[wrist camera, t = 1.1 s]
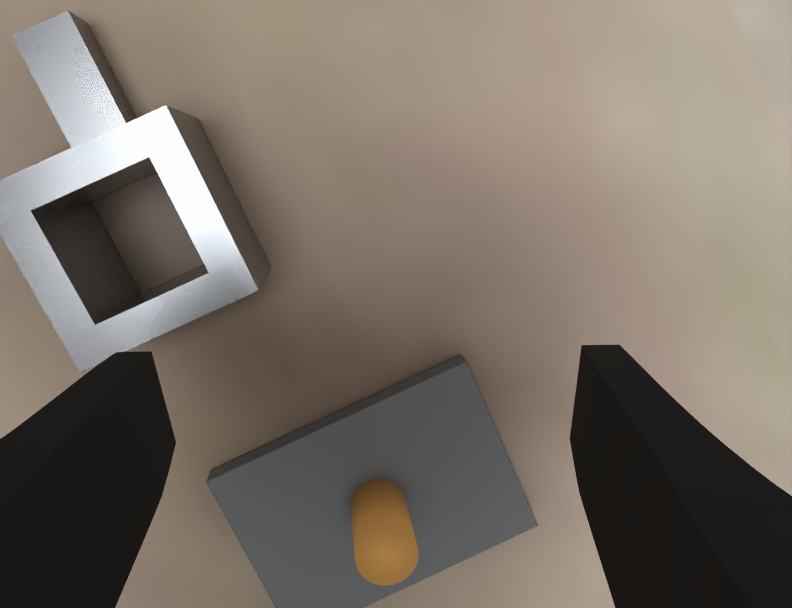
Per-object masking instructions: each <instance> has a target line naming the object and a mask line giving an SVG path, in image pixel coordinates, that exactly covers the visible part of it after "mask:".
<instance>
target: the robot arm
mask: <svg viewBox="0 0 792 608" xmlns="http://www.w3.org/2000/svg"><path fill="white" fill-rule="evenodd" d="M570 442H571V448H572V454H573V460H574V466H575V471H576V477H577V482H578V487H579V492H580V496H581V499H582V503H583V506H584V509H585V512H586V516H587V519H588V522H589V525H590V529H591V532H592V535H593V538H594V541H595V545H596V548H597V551H598V554H599V557H600V560H601V563H602V567H603V570H604V573H605V576H606V579H607V582H608V586H609V589H610V592H611V595H612V598H613V601H614V605H615V608H792V496H791V495H789V494H788V493H786V492H785V491H784V490H782V489H781V488H779V487H778V486H777V485H775V484H774V483H772V482H771V481H770V480H768V479H767V478H766V477H764V476H763V475H762V474H760V473H759V472H758V471H757V470H755V469H754V468H753V467H751V466H750V465H749V464H748V463H747V462H745V461H744V460H743V459H742V458H740V457H739V456H738V455H737V454H736V453H734V452H733V451H732V450H731V449H729V448H728V447H727V446H726V445H725V444H723V443H722V442H721V441H720V440H719V439H717V438H716V437H715V436H714V435H713V434H712V433H711V432H709V431H708V430H707V429H706V428H705V427H704V426H703V425H702V424H700V423H699V422H698V421H697V420H696V419H695V418H694V417H693V416H692V415H691V414H690V413H688V412H687V411H686V410H685V409H684V408H683V407H682V406H681V405H680V404H679V403H678V402H677V401H676V400H675V399H674V398H672V397H671V396H670V395H669V394H668V393H667V392H666V391H665V390H664V389H663V388H662V387H661V386H660V385H659V384H658V383H657V382H656V381H655V380H654V379H653V378H652V377H651V376H650V375H649V374H648V373H647V372H646V371H645V370H644V369H643V368H642V367H641V366H640V365H639V364H638V363H637V362H636V361H635V360H634V359H633V358H632V357H631V356H630V355H629V354H628V353H627V352H626V351H625V350H624V349H623V348H622V347H621V346H620V345H582V347H581V355H580V363H579V371H578V379H577V387H576V395H575V403H574V410H573V418H572V426H571V434H570ZM175 444H176V441H175V437H174V433H173V430H172V426H171V422H170V419H169V415H168V411H167V407H166V404H165V400H164V396H163V393H162V389H161V385H160V382H159V378H158V374H157V370H156V367H155V363H154V359H153V356H152V352H116V353H114V354H113V355H111V356H110V357H108V358H107V359H105V360H104V361H103V362H101V363H100V364H99V365H97V366H96V367H95V368H93V369H92V370H91V371H89V372H88V373H87V374H85V375H84V376H83V377H82V378H80V379H79V380H78V381H76V382H75V383H74V384H73V385H71V386H70V387H69V388H67V389H66V390H65V391H64V392H62V393H61V394H60V395H59V396H57V397H56V398H55V399H53V400H52V401H51V402H49V403H48V404H47V405H45V406H44V407H43V408H42V409H40V410H39V411H38V412H36V413H35V414H34V415H32V416H31V417H30V418H29V419H27V420H26V421H25V422H23V423H22V424H21V425H19V426H18V427H17V428H15V429H14V430H13V431H11V432H10V433H8V434H7V435H6V436H4V437H3V438H1V439H0V608H115V607H116V604H117V602H118V599H119V597H120V595H121V592H122V590H123V588H124V585H125V583H126V581H127V578H128V576H129V573H130V571H131V569H132V566H133V564H134V562H135V559H136V557H137V555H138V552H139V550H140V548H141V545H142V543H143V540H144V538H145V536H146V533H147V531H148V528H149V526H150V524H151V521H152V519H153V516H154V514H155V511H156V509H157V507H158V504H159V501H160V499H161V496H162V493H163V490H164V486H165V483H166V479H167V476H168V472H169V468H170V464H171V460H172V456H173V452H174V448H175Z"/></svg>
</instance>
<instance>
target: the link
mask: <svg viewBox="0 0 792 608" xmlns="http://www.w3.org/2000/svg"><path fill="white" fill-rule="evenodd" d="M12 38H13V40H14V42H15V44H16V45H17V47H18V49H19V51H20V53H21V55H22V57H23V58H24V60H25V62H26V64H27V66H28V68H29V70H30V72H31V73H32V75H33V77H34V79H35V81H36V83H37V85H38V86H39V88H40V90H41V92H42V94H43V96H44V98H45V99H46V101H47V103H48V105H49V107H50V109H51V111H52V112H53V114H54V116H55V118H56V120H57V122H58V124H59V125H60V127H61V129H62V131H63V133H64V135H65V137H66V138H67V140H68V142H69V144H70V146H71V148H70V149H68V150H66V151H63V152H61V153H59V154H57V155H55V156H52V157H50V158H48V159H46V160H44V161H41V162H39V163H37V164H35V165H32V166H30V167H28V168H26V169H24V170H21V171H19V172H17V173H15V174H12V175H10V176H8V177H6V178H4V179H1V180H0V235H1V237H2V239H3V240H4V242H5V244H6V245H7V247H8V249H9V251H10V252H11V254H12V256H13V258H14V259H15V261H16V263H17V265H18V266H19V268H20V270H21V271H22V273H23V275H24V277H25V278H26V280H27V282H28V284H29V285H30V287H31V289H32V291H33V292H34V294H35V296H36V297H37V299H38V301H39V303H40V304H41V306H42V308H43V310H44V311H45V313H46V315H47V316H48V318H49V320H50V322H51V323H52V325H53V327H54V329H55V330H56V332H57V334H58V336H59V337H60V339H61V341H62V342H63V344H64V346H65V348H66V349H67V351H68V353H69V355H70V356H71V358H72V360H73V362H74V363H75V365H76V367H77V368H78V370H79V372H82V371H84V370H86V369H88V368H90V367H92V366H95V365H97V364H99V363H101V362H103V361H104V360H105V359H107V358H108V357H110V356H111V355H113V354H114V353H116V352H125V351H127V350H130V349H132V348H134V347H136V346H138V345H141V344H143V343H145V342H147V341H149V340H151V339H154V338H156V337H158V336H160V335H162V334H165V333H167V332H169V331H171V330H173V329H175V328H178V327H180V326H182V325H184V324H186V323H189V322H191V321H193V320H195V319H197V318H199V317H202V316H204V315H206V314H208V313H210V312H213V311H215V310H217V309H219V308H221V307H223V306H226V305H228V304H230V303H232V302H234V301H237V300H239V299H241V298H243V297H245V296H247V295H250V294H252V293H254V292H256V291H258V290H259V289H260V287H261V285H262V283H263V281H264V279H265V276H266V274H267V272H268V270H269V268H270V264H269V262H268V260H267V258H266V256H265V254H264V252H263V250H262V248H261V246H260V244H259V242H258V240H257V237H256V235H255V233H254V231H253V229H252V227H251V225H250V223H249V221H248V219H247V217H246V215H245V213H244V211H243V209H242V207H241V205H240V203H239V201H238V199H237V197H236V195H235V193H234V191H233V189H232V187H231V185H230V183H229V181H228V179H227V176H226V174H225V172H224V170H223V168H222V166H221V164H220V162H219V160H218V158H217V156H216V154H215V152H214V150H213V148H212V146H211V144H210V142H209V140H208V138H207V136H206V134H205V132H204V130H203V128H202V126H201V124H200V122H199V120H198V119H197V118H195V117H193V116H190V115H188V114H185V113H183V112H181V111H178V110H176V109H174V108H171V107H169V106H167V105H165V106H163V107H161V108H159V109H157V110H154V111H152V112H150V113H148V114H146V115H143V116H141V117H139V118H136V117H135V115H134V113H133V111H132V109H131V107H130V105H129V103H128V101H127V99H126V97H125V95H124V93H123V91H122V89H121V87H120V85H119V83H118V81H117V79H116V77H115V75H114V74H113V72H112V70H111V68H110V66H109V64H108V62H107V60H106V58H105V56H104V54H103V52H102V50H101V48H100V46H99V44H98V42H97V40H96V38H95V36H94V34H93V32H92V31H91V29H90V27H89V25H88V23H87V22H85V21H84V20H82V19H81V18H79V17H77V16H76V15H74V14H73V13H71V12H69V11H66V12H63V13H61V14H59V15H57V16H54V17H52V18H50V19H48V20H45V21H43V22H41V23H39V24H37V25H34V26H32V27H30V28H28V29H25V30H23V31H21V32H19V33H16V34H14V35H12ZM156 172H157V173H158V175H159V177H160V179H161V181H162V183H163V185H164V187H165V189H166V191H167V192H168V194H169V196H170V198H171V200H172V202H173V204H174V206H175V208H176V210H177V212H178V214H179V216H180V218H181V220H182V222H183V224H184V226H185V228H186V229H187V231H188V233H189V235H190V237H191V239H192V241H193V243H194V245H195V247H196V249H197V251H198V253H199V255H200V257H201V259H202V261H203V263H204V265H202V266H200V267H197V268H195V269H193V270H191V271H189V272H186V273H184V274H182V275H180V276H178V277H176V278H173V279H171V280H169V281H167V282H165V283H162V284H160V285H158V286H156V287H154V288H151V289H149V290H147V291H145V292H143V293H140V292H139V290H138V288H137V286H136V284H135V283H134V281H133V279H132V277H131V275H130V273H129V271H128V270H127V268H126V266H125V264H124V262H123V260H122V259H121V257H120V255H119V253H118V251H117V249H116V247H115V246H114V244H113V242H112V240H111V238H110V236H109V234H108V233H107V231H106V229H105V227H104V225H103V223H102V222H101V220H100V218H99V216H98V214H97V212H96V210H95V209H94V207H93V205H92V203H91V202H92V201H94V200H97V199H99V198H101V197H103V196H106V195H108V194H110V193H112V192H114V191H117V190H119V189H121V188H123V187H125V186H128V185H130V184H132V183H134V182H136V181H139V180H141V179H143V178H145V177H147V176H150V175H152V174H154V173H156Z"/></svg>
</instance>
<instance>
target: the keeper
mask: <svg viewBox="0 0 792 608" xmlns="http://www.w3.org/2000/svg"><path fill="white" fill-rule="evenodd" d="M207 484H208V486H209V488H210V489H211V491H212V493H213V495H214V497H215V498H216V500H217V502H218V504H219V506H220V508H221V509H222V511H223V513H224V515H225V517H226V518H227V520H228V522H229V524H230V526H231V527H232V529H233V531H234V533H235V535H236V536H237V538H238V540H239V542H240V544H241V545H242V547H243V549H244V551H245V553H246V554H247V556H248V558H249V560H250V562H251V563H252V565H253V567H254V569H255V571H256V572H257V574H258V576H259V578H260V580H261V582H262V583H263V585H264V587H265V589H266V591H267V592H268V594H269V596H270V598H271V600H272V601H273V603H274V605H275V607H276V608H363V607H365V606H367V605H369V604H371V603H374V602H376V601H378V600H380V599H382V598H384V597H386V596H389V595H391V594H393V593H395V592H397V591H399V590H401V589H403V588H406V587H408V586H410V585H412V584H414V583H416V582H418V581H420V580H423V579H425V578H427V577H429V576H431V575H433V574H435V573H438V572H440V571H442V570H444V569H446V568H448V567H450V566H452V565H455V564H457V563H459V562H461V561H463V560H465V559H467V558H469V557H472V556H474V555H476V554H478V553H480V552H482V551H484V550H487V549H489V548H491V547H493V546H495V545H497V544H499V543H501V542H504V541H506V540H508V539H510V538H512V537H514V536H516V535H518V534H521V533H523V532H525V531H527V530H529V529H531V528H533V527H535V526H538V524H537V521H536V519H535V517H534V515H533V512H532V510H531V508H530V506H529V503H528V501H527V499H526V496H525V494H524V492H523V490H522V487H521V485H520V483H519V481H518V478H517V476H516V474H515V471H514V469H513V467H512V465H511V462H510V460H509V458H508V455H507V453H506V451H505V449H504V446H503V444H502V442H501V440H500V437H499V435H498V433H497V430H496V428H495V426H494V424H493V421H492V419H491V417H490V415H489V412H488V410H487V408H486V405H485V403H484V401H483V399H482V396H481V394H480V392H479V390H478V387H477V385H476V383H475V380H474V378H473V376H472V374H471V371H470V369H469V367H468V365H467V362H466V361H465V359H464V358H463V357H462V355H461V354H460V355H458V356H456V357H454V358H452V359H450V360H447V361H445V362H443V363H441V364H439V365H437V366H434V367H432V368H430V369H428V370H426V371H424V372H421V373H419V374H417V375H415V376H413V377H411V378H409V379H406V380H404V381H402V382H400V383H398V384H396V385H393V386H391V387H389V388H387V389H385V390H383V391H380V392H378V393H376V394H374V395H372V396H370V397H367V398H365V399H363V400H361V401H359V402H357V403H355V404H352V405H350V406H348V407H346V408H344V409H342V410H339V411H337V412H335V413H333V414H331V415H329V416H326V417H324V418H322V419H320V420H318V421H316V422H313V423H311V424H309V425H307V426H305V427H303V428H301V429H298V430H296V431H294V432H292V433H290V434H288V435H285V436H283V437H281V438H279V439H277V440H275V441H272V442H270V443H268V444H266V445H264V446H262V447H259V448H257V449H255V450H253V451H251V452H249V453H247V454H244V455H242V456H240V457H238V458H236V459H234V460H231V461H229V462H227V463H225V464H223V465H221V466H218V467H216V468H214V469H212V470H211V471H210V473H209V476H208V479H207Z"/></svg>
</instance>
